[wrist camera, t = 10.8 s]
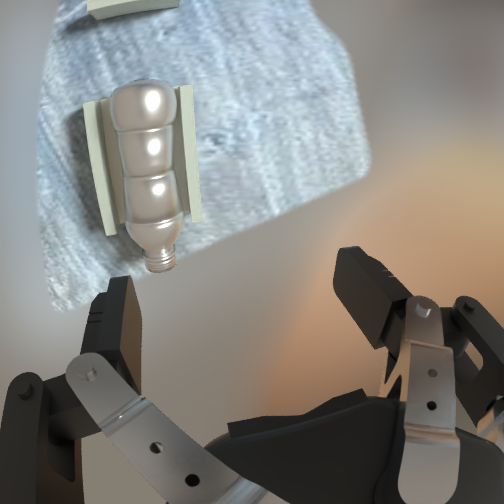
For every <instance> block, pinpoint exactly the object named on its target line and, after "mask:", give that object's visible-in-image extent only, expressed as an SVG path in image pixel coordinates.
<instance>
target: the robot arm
mask: <svg viewBox="0 0 504 504" xmlns="http://www.w3.org/2000/svg"><path fill="white" fill-rule="evenodd" d="M333 287H334V291H335V293H336V295H337V297H338V298H339V299H340V301H341V302H342V303H343V305H344V306H345V308H346V309H347V311H348V312H349V313H350V315H351V316H352V318H353V319H354V320H355V322H356V323H357V325H358V326H359V328H360V329H361V331H362V332H363V333H364V335H365V336H366V338H367V339H368V341H369V342H370V344H371V345H372V346H373V348H374V349H378V348H381V347H384V346H386V347H387V349H388V350H387V352H386V355H385V361H384V368H383V375H382V381H381V387H380V392H379V395H378V397H377V396H368V397H367V396H366V394H365V393H364V391H363V389H358V390H355V391H353V392H350V393H347V394H343V395H341V396H337V397H334V398H332V399H330V400H328V401H327V402H325V403H323V404H322V405H320V406H318V407H316V408H315V409H313V410H311V411H309V412H308V413H306V414H303V415H297V416H261V417H257V418H252V419H247V420H241V421H236V422H231V423H227V425H228V431H229V432H228V433H226V434H223V435H221V436H220V437H217V438H216V439H214V440H213V441H211V442H210V443H208V444H207V445H206V446H205V447H204V448H203V447H202V446H200V445H199V444H198V443H197V442H196V441H194V440H193V439H192V438H191V437H190V436H188V435H187V434H186V433H185V432H184V431H183V430H181V429H180V428H179V427H178V426H177V425H176V424H175V423H174V422H172V421H171V420H170V419H169V418H168V417H167V416H166V415H165V414H164V413H162V411H160V410H159V409H158V408H157V407H156V406H155V405H154V404H153V403H152V402H151V401H150V400H148V399H147V398H145V397H144V398H143V399H142V398H141V397H140V395H141V341H142V317H141V311H140V307H139V303H138V300H137V296H136V292H135V288H134V285H133V281H132V278H131V276H130V275H129V276H121V277H113V278H110V281H109V286H108V290H107V292H103V293H99V294H98V295H97V296H96V298H95V299H94V300H93V302H92V303H91V308H90V312H89V316H88V320H87V324H86V328H85V333H84V337H83V342H82V347H81V352H80V355H79V356H77V357H76V358H74V359H73V360H72V361H71V362H70V363H69V365H68V367H67V369H66V373H65V374H63V375H61V376H58V377H55V378H52V379H48V380H45V381H42V379H41V378H40V377H39V376H38V375H37V374H35V373H32V372H26V373H22V374H20V375H18V376H17V377H15V378H14V379H13V380H12V382H11V383H10V386H9V387H8V391H7V396H6V400H5V405H4V410H3V416H2V422H1V429H0V504H85V503H84V492H83V479H82V456H81V438H83V437H86V436H89V435H92V434H95V433H98V432H101V431H102V432H103V433H104V434H105V436H106V437H107V438H108V439H109V441H110V442H111V443H112V444H113V445H114V446H115V448H116V449H117V450H118V451H119V452H120V454H121V455H122V456H123V457H124V458H125V459H126V460H127V462H128V463H130V465H131V466H132V467H133V468H134V469H135V470H136V471H137V472H138V473H139V474H140V475H141V476H142V477H143V479H145V481H146V482H147V483H149V485H150V486H151V487H152V488H154V490H156V492H157V493H159V494H160V495H161V496H162V497H163V498H164V499H165V500H166V501H167V502H166V504H504V329H503V328H502V327H501V325H500V324H499V323H498V322H497V321H496V320H495V319H494V318H493V316H491V314H490V313H489V312H488V311H487V310H486V309H485V308H484V307H483V306H482V305H481V304H480V303H479V302H478V301H477V300H475V299H474V298H471V297H468V296H460V297H458V298H457V299H456V301H455V303H454V306H453V307H439V306H438V305H437V304H436V302H434V301H433V300H432V299H429V298H427V297H424V296H413V295H412V294H411V293H410V292H409V291H408V290H407V289H406V288H405V287H404V285H403V284H402V283H401V282H400V281H399V280H398V279H397V278H396V277H394V275H393V274H392V273H391V272H390V271H388V269H387V268H386V267H385V266H384V265H383V264H382V263H381V262H380V261H378V260H376V259H374V258H372V257H371V256H368V255H367V254H366V253H365V252H364V251H363V250H362V249H361V248H360V247H359V246H352V247H346V248H340V249H339V251H338V254H337V260H336V266H335V272H334V278H333ZM470 341H471V342H472V344H473V345H474V346H475V348H476V349H477V350H478V351H479V353H480V354H481V355H482V357H483V367H482V369H481V370H480V371H479V370H478V368H477V367H476V365H475V364H474V363H473V361H472V360H471V359H470V357H469V356H468V355H467V353H466V352H465V349H466V347H467V346H468V344H469V342H470ZM455 394H456V396H457V397H458V399H459V400H460V402H461V404H462V405H463V407H464V408H465V410H466V411H467V413H468V415H469V416H470V418H471V420H472V421H473V423H474V425H475V426H476V428H477V433H478V435H474V434H472V433H469V432H466V431H464V430H462V429H459V428H457V427H455Z"/></svg>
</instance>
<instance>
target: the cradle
mask: <svg viewBox="0 0 504 504" xmlns="http://www.w3.org/2000/svg"><path fill="white" fill-rule="evenodd" d="M174 89H175V94H176V98H177V109H176V118H175V123H174V125H173V126H174V163H175V167H174V169H175V171H176V178H177V185H178V189H179V193H180V197H181V201H182V205H183V209H184V214H188V213H191V219H192V223H194V222H202V221H203V215H202V205H201V195H200V184H199V173H198V161H197V148H196V135H195V120H194V104H193V86H192V85H186V86H180V87H174ZM109 106H110V98H107V99H102V100H95V101H90V102H86V103H83V109H84V118H85V126H86V134H87V141H88V148H89V154H90V160H91V166H92V172H93V177H94V183H95V188H96V193H97V198H98V202H99V207H100V211H101V216H102V220H103V224H104V228H105V232H106V236H108V235H114V234H117V231H118V228H119V225H120V224H121V223H125V210H124V187H123V175H122V165H121V160H120V155H119V150H118V145H117V139H116V132H115V131H114V129H113V126H112V122H111V118H110V113H109Z"/></svg>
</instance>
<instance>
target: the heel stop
mask: <svg viewBox="0 0 504 504" xmlns="http://www.w3.org/2000/svg"><path fill="white" fill-rule="evenodd" d="M173 7H179V0H88V4H87V11H88V12H89V13H90V14H91V15H92V16H93V17H94V18H96V19H97V20H101V19H105V18H110V17H114V16H119V15H124V14H130V13H135V12H142V11H148V10H155V9H163V8H173Z"/></svg>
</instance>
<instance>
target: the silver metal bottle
mask: <svg viewBox="0 0 504 504" xmlns="http://www.w3.org/2000/svg"><path fill="white" fill-rule="evenodd" d="M176 109H177V98H176V94H175V89H174V87H173V86H172V85H171V83H170V82H166V81H161V80H155V79H149V78H148V79H139V80H134V81H133V82H129V83H127V84H125V85H123V86H120V87H118V88H116V89H114V91H113V93H112V95H111V97H110V106H109V113H110V118H111V122H112V126H113V129H114V131H115V132H116V139H117V145H118V150H119V155H120V160H121V165H122V175H123V187H124V210H125V225H126V230H127V231H128V233H129V235H130V237H131V238H132V239H133V240H134V241H135V242H136V243H137V244H138V245H139V246H141V247H142V248H143V249H144V250H143V253H142V254H143V258H144V260H145V265H146V268H147V270H148V271H150V272H154V273H161V272H165V271H168V270H170V269H172V268H173V267H175V265H176V263H177V258H176V246H175V245H174V242H175V241H176V239H177V238H178V236H179V234H180V232H181V230H182V228H183V225H184V220H185V215H184V209H183V205H182V201H181V197H180V193H179V189H178V185H177V178H176V171H175V169H174V167H175V163H174V126H173V125H174V123H175V118H176Z"/></svg>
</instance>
